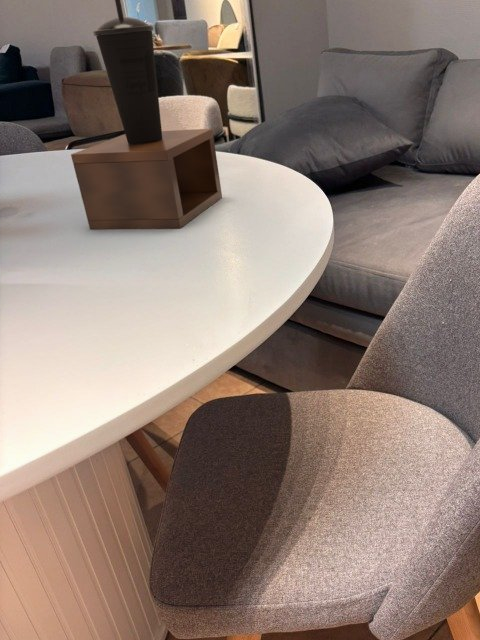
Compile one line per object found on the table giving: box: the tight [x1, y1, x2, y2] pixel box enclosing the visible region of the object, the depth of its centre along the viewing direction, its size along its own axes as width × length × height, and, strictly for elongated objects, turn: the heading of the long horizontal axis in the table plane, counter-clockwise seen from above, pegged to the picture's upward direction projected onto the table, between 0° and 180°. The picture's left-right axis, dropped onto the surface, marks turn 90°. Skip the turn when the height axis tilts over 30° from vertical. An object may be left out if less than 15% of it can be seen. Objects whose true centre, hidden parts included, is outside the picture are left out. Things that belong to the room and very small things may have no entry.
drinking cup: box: [92, 0, 163, 144], centre depth 84 cm, size 8×8×20 cm
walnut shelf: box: [70, 128, 223, 230], centre depth 92 cm, size 14×16×10 cm
